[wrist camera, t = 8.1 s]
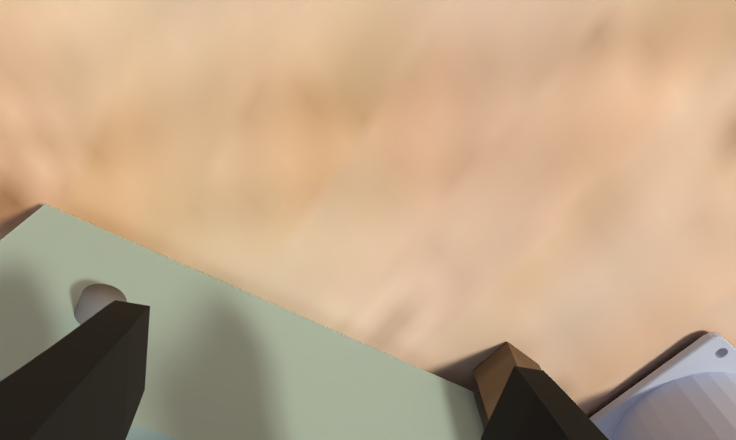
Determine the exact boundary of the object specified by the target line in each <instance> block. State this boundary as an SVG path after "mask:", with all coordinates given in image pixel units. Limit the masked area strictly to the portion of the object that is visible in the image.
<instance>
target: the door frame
mask: <svg viewBox="0 0 736 440" xmlns="http://www.w3.org/2000/svg"><path fill="white" fill-rule="evenodd" d="M514 366H518V367H524V368H530V369H536V370H541V368H540V366H539V365H538V364H537V363H536V362H534V361H533V360H532V359H530V358H529V357H527V356H526V355H525V354H523V353H522V352H521V351H519V350H518V349H517V348H515V347H514V346H512V345H511V344H510V343H508V342H507V343H505V344H504V345H503V346H502V347H501V348H499V349H498V350H497V351H496V352H495V353H493V354H492V355H491V356H490V357H489V358H487V359H486V360H485V361H484V362H483V363H482V364H480V365H479V366H478V367H477V368H476V369H474V370H473V371H474V374H475V377H476V381H477V384H478V387H479V390H480V394H481V397H482V400H483V404H484V407H485V410H486V413H487V417H488V420H489V419H490V417H491V415H492V413H493V410H494V408H495V406H496V404H497V402H498V400H499V398H500V395H501V393H502V391H503V389H504V387H505V385H506V383H507V380H508V378H509V376H510V374H511V372H512V370H513V368H514Z"/></svg>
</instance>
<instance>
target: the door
mask: <svg viewBox="0 0 736 440" xmlns="http://www.w3.org/2000/svg"><path fill="white" fill-rule="evenodd" d="M115 300H117V301H123V302H129V303H136V304H142V305H148V306H150V316H149V331H148V347H147V362H146V378H145V390H144V393H143V396H142V398H141V401H140V404H139V406H138V409H137V412H136V414H135V417H134V420H133V422H132V425H131V427H130V430H129V432H128V435H127V437H126V440H481V436H482V434H483V432H484V430H485V428H486V426H487V423H488V421H489V420H488V417H487V413H486V410H485V407H484V404H483V400H482V397H481V394H480V393H473V391H470V390H468V389H466V388H464V387H461V386H459V385H457V384H455V383H452V382H450V381H448V380H445V379H443V378H441V377H439V376H436V375H434V374H432V373H430V372H427V371H425V370H423V369H420V368H418V367H416V366H414V365H411V364H409V363H407V362H405V361H402V360H400V359H398V358H395V357H393V356H391V355H389V354H386V353H384V352H382V351H379V350H377V349H375V348H373V347H370V346H368V345H366V344H364V343H361V342H359V341H357V340H354V339H352V338H350V337H348V336H345V335H343V334H341V333H339V332H336V331H334V330H332V329H329V328H327V327H325V326H323V325H320V324H318V323H316V322H314V321H311V320H309V319H307V318H304V317H302V316H300V315H298V314H295V313H293V312H291V311H288V310H286V309H284V308H282V307H279V306H277V305H275V304H273V303H270V302H268V301H266V300H263V299H261V298H259V297H257V296H254V295H252V294H250V293H248V292H245V291H243V290H241V289H238V288H236V287H234V286H232V285H229V284H227V283H225V282H223V281H220V280H218V279H216V278H213V277H211V276H209V275H207V274H204V273H202V272H200V271H197V270H195V269H193V268H191V267H188V266H186V265H184V264H182V263H179V262H177V261H175V260H172V259H170V258H168V257H166V256H163V255H161V254H159V253H157V252H154V251H152V250H150V249H147V248H145V247H143V246H141V245H138V244H136V243H134V242H132V241H129V240H127V239H125V238H122V237H120V236H118V235H116V234H113V233H111V232H109V231H106V230H104V229H102V228H100V227H97V226H95V225H93V224H91V223H88V222H86V221H84V220H81V219H79V218H77V217H75V216H72V215H70V214H68V213H66V212H63V211H61V210H59V209H56V208H54V207H52V206H50V205H47V204H44V205H43V206H42V207H41V208H40V209H38V210H37V211H36V212H35V213H33V214H32V215H31V216H30V217H28V218H27V219H26V220H25V221H23V222H22V223H21V224H20V225H18V226H17V227H16V228H15V229H14V230H12V231H11V232H10V233H9V234H7V235H6V236H5V237H4V238H2V239H1V240H0V381H2V380H3V379H5V378H6V377H8V376H9V375H11V374H12V373H13V372H15V371H16V370H18V369H19V368H21V367H22V366H23V365H25V364H26V363H28V362H29V361H31V360H32V359H34V358H35V357H36V356H38V355H39V354H41V353H42V352H44V351H45V350H47V349H48V348H49V347H51V346H52V345H54V344H55V343H56V342H58V341H59V340H60V339H62V338H63V337H65V336H66V335H67V334H69V333H70V332H72V331H73V330H74V329H76V328H77V327H78V326H80V325H81V324H82V323H84V322H85V321H86V320H88V319H89V318H90V317H92V316H93V315H94V314H96V313H97V312H99V311H100V310H101V309H103V308H104V307H105V306H107V305H108V304H110V303H111V302H113V301H115Z"/></svg>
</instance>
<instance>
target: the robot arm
mask: <svg viewBox="0 0 736 440" xmlns="http://www.w3.org/2000/svg"><path fill="white" fill-rule="evenodd" d="M149 316H150V306H148V305H142V304H136V303H129V302H123V301H117V300H115V301H113V302H111V303H110V304H108V305H107V306H105V307H104V308H103V309H101V310H100V311H99V312H97V313H96V314H94V315H93V316H92V317H90V318H89V319H88V320H86V321H85V322H84V323H82V324H81V325H80V326H78V327H77V328H76V329H74V330H73V331H72V332H70V333H69V334H67V335H66V336H65V337H63V338H62V339H60V340H59V341H58V342H56V343H55V344H54V345H52V346H51V347H49V348H48V349H47V350H45V351H44V352H42V353H41V354H39V355H38V356H36V357H35V358H34V359H32V360H31V361H29V362H28V363H26V364H25V365H23V366H22V367H21V368H19V369H18V370H16V371H15V372H13V373H12V374H11V375H9V376H8V377H6V378H5V379H3V380H2V381H0V440H126V437H127V435H128V432H129V430H130V427H131V425H132V422H133V420H134V417H135V414H136V412H137V409H138V406H139V404H140V401H141V398H142V396H143V393H144V390H145V378H146V362H147V347H148V331H149ZM717 350H718V351H717ZM481 440H736V348H735V347H733V346H732V345H731V344H730V343H729V342H728V341H727V340H726V339H725V338H724V337H722V336H721V335H720V334H719V333H716V332H711V333H707V334H705V335H703V336H702V337H700V338H699V339H698V340H696V341H695V342H693V343H692V344H691V345H689V346H688V347H687V348H685V349H684V350H682V351H681V352H680V353H678V354H677V355H676V356H674V357H673V358H671V359H670V360H669V361H667V362H666V363H664V364H663V365H662V366H660V367H659V368H658V369H656V370H655V371H653V372H652V373H651V374H649V375H648V376H647V377H645V378H644V379H642V380H641V381H640V382H638V383H637V384H636V385H634V386H633V387H631V388H630V389H629V390H627V391H626V392H625V393H623V394H622V395H620V396H619V397H618V398H616V399H615V400H613V401H612V402H611V403H609V404H608V405H607V406H605V407H604V408H602V409H601V410H600V411H598V412H597V413H596V414H594V415H593V416H591V417H590V418H588V417H587V416H586V415H585V413H584V412H583V411H582V410H581V409H580V408H579V407H578V406H577V405H576V404H575V403H574V402H573V401H572V400H571V398H570V397H569V396H568V395H567V394H566V393H565V392H564V391H563V390H562V389H561V388H560V387H559V386H558V385H557V384H556V383H555V382H554V381H553V380H552V379H551V378H550V377H549V376H548V375H547V374H546V373H545V372H544V371H543V370H536V369H530V368H524V367H518V366H514V368H513V370H512V372H511V374H510V376H509V378H508V380H507V383H506V385H505V387H504V389H503V391H502V393H501V395H500V398H499V400H498V402H497V404H496V406H495V408H494V410H493V413H492V415H491V417H490V419H489V421H488V423H487V426H486V428H485V430H484V432H483V434H482V436H481Z"/></svg>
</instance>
